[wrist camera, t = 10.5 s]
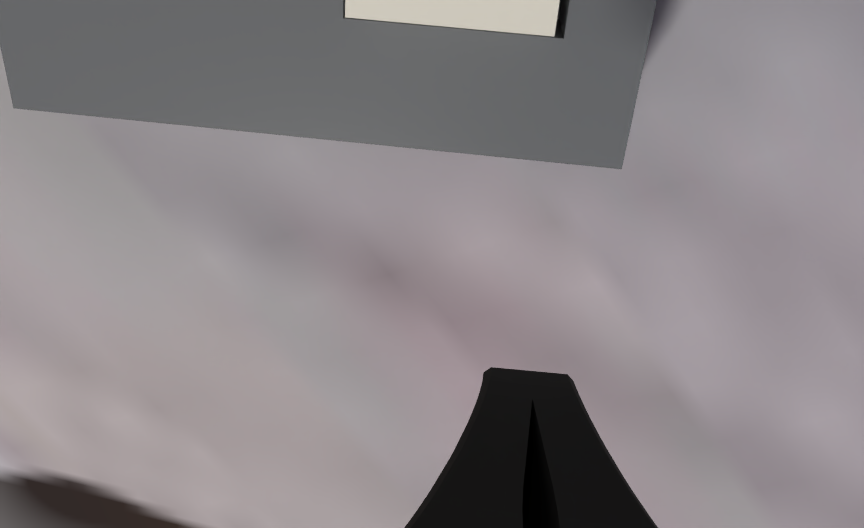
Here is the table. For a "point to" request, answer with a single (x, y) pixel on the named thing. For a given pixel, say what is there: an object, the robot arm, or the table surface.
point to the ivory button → (463, 14)
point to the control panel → (337, 73)
